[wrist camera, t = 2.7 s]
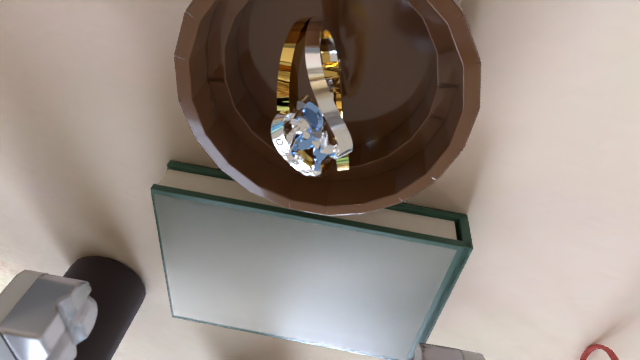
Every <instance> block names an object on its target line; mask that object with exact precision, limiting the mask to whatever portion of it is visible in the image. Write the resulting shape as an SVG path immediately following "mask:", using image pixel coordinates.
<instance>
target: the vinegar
mask: <svg viewBox="0 0 640 360" xmlns="http://www.w3.org/2000/svg"><path fill="white" fill-rule="evenodd" d="M63 277H66V278H71V279H77V280H82V281H88V282H89V284H90V287H91V289H92V290H91V292H90V294H89V296H90V297H92V298H93V299H94V300H95V301H96V304H97V307H98V312H97V318H96V321H95V324H94V327H93V329H92V331H91V332H90V334H89V336H88V337H87V338H86V339H85V340H83V341H82V342H80V343H78V344H77V345H76V350H77V355H76V357H75V359H74V360H111V359H112V357H113V355H114V353H115V351H116V349H117V348H118V346H119V344H120V342H121V340H122V339H123V337H124V335H125V333H126V331H127V329H128V328H129V326H130V324H131V322H132V320H133V319H134V317H135V315H136V313H137V311H138V309H139V308H140V306H141V304H142V302H143V300H144V298H145V295H146V293H145V287H144V285H143V283H142V281H141V280H140V278H139V277H138V276H137V275H136V274H135V273H134V272H133V271H132V270H130V269H129V268H127V267H126V266H124V265H123V264H120V263H118V262H116V261H113V260H111V259H107V258H102V257H85V258H82V259H79V260H77V261H76V262H75V263H74V264H73V265H72V266H71V267H70V268H69V269H68V271H67V272H66V273H65V275H64V276H63Z"/></svg>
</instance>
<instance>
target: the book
mask: <svg viewBox="0 0 640 360" xmlns="http://www.w3.org/2000/svg"><path fill="white" fill-rule="evenodd" d="M167 168H168V171H167V172H166V174H165V175H164V177H163V178H162V180H161V181H160V183H159V184H158V185H157V184H153V186H152V187H151V195H152V201H153V206H154V212H155V218H156V224H157V230H158V236H159V242H160V248H161V254H162V259H163V265H164V271H165V277H166V283H167V289H168V295H169V301H170V307H171V313H172V317H174V318H179V319H185V320H190V321H195V322H200V323H205V324H210V325H215V326H220V327H225V328H230V329H235V330H240V331H246V332H251V333H256V334H261V335H266V336H271V337H276V338H281V339H286V340H291V341H296V342H302V343H307V344H312V345H317V346H322V347H327V348H332V349H337V350H342V351H347V352H352V353H357V354H363V355H368V356H373V357H378V358H383V359H388V360H409V359H411V358H414V349H415V347H416V345H417V344H418V343H426V341H427V339H428V337H429V335H430V333H431V331H432V329H433V327H434V325H435V323H436V321H437V319H438V317H439V315H440V313H441V311H442V309H443V307H444V305H445V303H446V301H447V299H448V297H449V295H450V293H451V291H452V289H453V287H454V285H455V283H456V281H457V279H458V277H459V275H460V273H461V271H462V269H463V268H464V266H465V264H466V262H467V260H468V258H469V256H470V254H471V252H472V250H473V245H472V239H471V234H470V228H469V222H468V217H467V215H464V214H458V213H453V212H448V211H442V210H437V209H431V208H426V207H420V206H415V205H409V204H404V203H399V204H396V205H392V206H389V207H386V208H382V209H379V210H376V211H373V212H369V213H365V214H350V215H330V216H327V215H320V214H315V213H309V212H304V211H299V210H293V209H289V208H286V207H283V206H281V205H279V204H276V203H274V202H272V201H270V200H267V199H265V198H263V197H260V196H258V195H256V194H254V193H253V192H252V193H251V192H250V191H248V190H247V189H246V188H244V187H243V186H242V185H240V184H239V183H238V182H236V181H235V180H234V179H232V178H231V177H230V176H229V175H227V174H226V173H225V172H223V171H222V170H218V169H213V168H207V167H202V166H196V165H191V164H185V163H180V162H174V161H169V163H168V164H167Z"/></svg>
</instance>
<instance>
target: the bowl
mask: <svg viewBox="0 0 640 360" xmlns="http://www.w3.org/2000/svg"><path fill="white" fill-rule="evenodd" d="M314 16H327V17H328V18H329V19H330V21H331V23H332V25H333V28H334V32H335V36H336V40H337V46H338V52H339V57H340V58H341V67H342V72H341V84H342V97H343V112H344V123H345V125H346V127H347V129H348V131H349V133H350V136H351V139H352V143H353V149H352V152H351V153H349V154H348V156H349V172H338V170H337V164H336V159H335V162H334V166H333V169H332V171H331V172H330V174H328V175H327V176H315V177H309V176H306V175H304V174H302V173H301V172H299V171H298V170H297V169H295V168H294V167H293V166H292V165H291V164H289V163H288V162H287V161H286V160H285V159H284V158H283V157H282V155H281V154H280V153H279V152H278V150H277V149H276V147H275V145H274V143H273V140H272V136H271V125H272V122H273V119H274V118H275V116H276V115H277V81H278V71H279V64H280V59H281V54H282V50H283V46H284V43H285V40H286V38H287V35H288V33H289V31H290V29H291V27H292V26H293V25H294V23H295V22H296V21H297V20H299V19H300V18H303V17H314ZM174 56H175V57H174V60H175V70H176V80H177V90H178V98H179V99H178V100H179V102H180V105H181V107H182V109H183V112H184V114H185V116H186V119H187V121H188V123H189V126H190V128H191V130H192V133H193V135H194V137H195V139H196V140H197V141H198V142H199V144H200V145H201V146H202V147H203V149H204V150H205V151H206V152H207V154H208V155H209V156H210V157H211V159H212V160H213V161H214V162H215V164H216V165H217V166H218V167H219V168H220V169H221V170H222V171H223V172H225V173H226V174H227V175H229V176H230V177H231V178H232V179H234V180H235V181H236V182H238V183H239V184H240V185H242V186H243V187H244V188H246V189H247V190H248V191H250V192H251V193H252V192H253V193H254V194H256V195H258V196H260V197H263V198H265V199H267V200H270V201H272V202H274V203H276V204H279V205H281V206H283V207H286V208H289V209H293V210H299V211H304V212H309V213H315V214H320V215H327V216H330V215H350V214H365V213H369V212H373V211H376V210H379V209H382V208H386V207H389V206H392V205H396V204H399V203H402V201H403V202H404V201H406V200H407V199H409V198H410V197H412V196H414V195H415V194H417V193H418V192H420V191H421V190H423V189H425V188H426V187H428V186H429V185H431V184H433V183H434V182H435V181H436V180H438V179H439V178H440V176H441V175H442V174H443V173H444V172H445V171H446V169H447V168H448V167H449V166H450V165H451V164H452V162H453V161H454V160H455V159H456V158H457V157H458V155H459V154H460V153H461V152H462V151H463V149H464V147H465V145H466V142H467V140H468V137H469V135H470V132H471V130H472V127H473V125H474V122H475V120H476V117H477V115H478V112H479V109H480V86H481V61H480V57H479V54H478V51H477V49H476V46H475V43H474V40H473V37H472V35H471V32H470V29H469V26H468V23H467V20H466V18H465V15H464V12H463V9H462V6H461V4H460V1H459V0H193V1H192V2H191V3H190V5H189V6H188V8H187V9H186V12H185V13H184V17H183V21H182V25H181V29H180V33H179V37H178V41H177V45H176V49H175V54H174ZM320 58H321V64H322V63H323V60H322V55H321V51H320ZM304 95H308V96H310V97H312V100H314V101H316V102H317V100H316V98H315V95H314V93H313V90H312V87H311V84H310V80H309V77H308V72H307V67H306V59H305V46H304V48H303V51H302V55H301V59H300V64H299V71H298V100H299V99H300V98H302V97H303V96H304ZM300 110H303V108H301V109H300ZM325 122H327V121H326V119H325ZM327 126H328V122H327ZM291 129H292V124H291V123H290V124H289V132H290V130H291ZM326 130H327V127H326ZM326 130H325V131H326ZM296 136H297V134H296ZM296 136H295V137H294V138H296ZM303 151H304V152H305V153H306V154H308V155H309V156H310V157H311V158H312V159H313V147H312V148H310V149H308V150H303Z"/></svg>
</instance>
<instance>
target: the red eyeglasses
mask: <svg viewBox="0 0 640 360" xmlns="http://www.w3.org/2000/svg"><path fill="white" fill-rule="evenodd" d="M596 349H603V350H604V351H605V352H607V354H608V355H609V357H610V358H611V360H619V359H618V358H617V356H616V355H615V353H614V352H613V351H612V350H611V349H609V348H608V347H605V346H603V345H600V344H594V345H591V346H589V347H588V348H587V349H586V350H585V351H584V353H583V354H582V356H581V358H580V360H586V359H587V357H588V356H589V354H590V353H591V352H592V351H594V350H596Z"/></svg>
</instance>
